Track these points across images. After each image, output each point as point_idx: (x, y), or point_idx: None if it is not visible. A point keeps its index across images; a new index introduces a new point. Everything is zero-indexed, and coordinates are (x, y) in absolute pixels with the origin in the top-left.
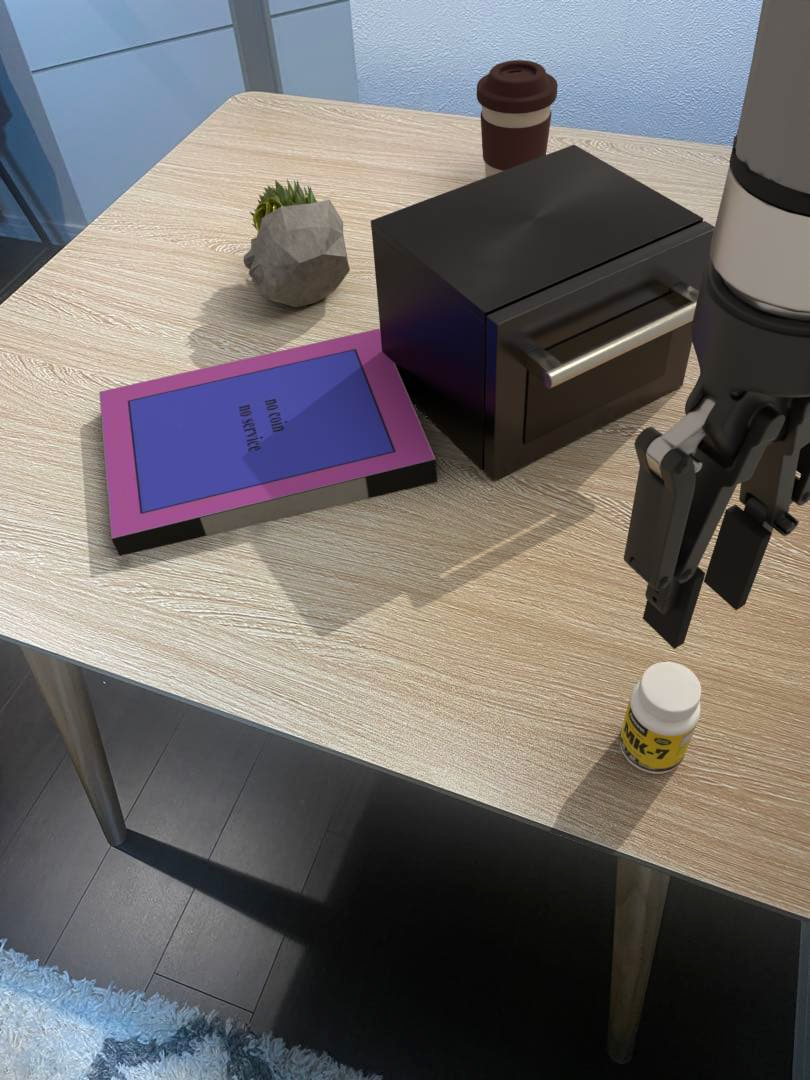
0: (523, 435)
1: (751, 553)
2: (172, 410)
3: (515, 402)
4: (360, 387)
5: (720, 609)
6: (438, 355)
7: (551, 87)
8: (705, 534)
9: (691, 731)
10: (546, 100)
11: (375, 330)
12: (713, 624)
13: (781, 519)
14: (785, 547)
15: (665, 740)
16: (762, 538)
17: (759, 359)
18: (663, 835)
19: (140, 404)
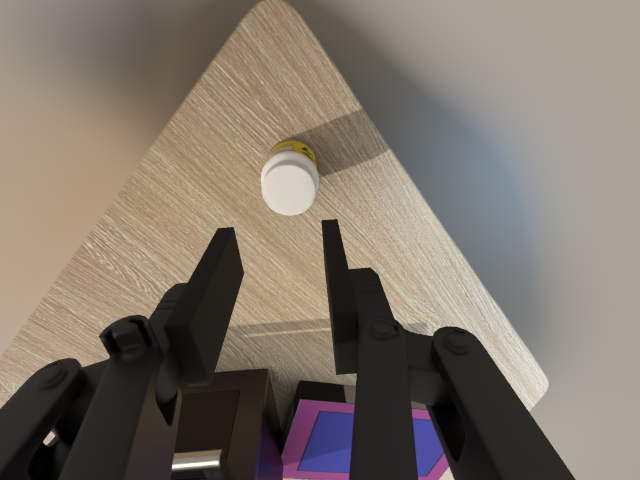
0: (239, 397)
1: (205, 300)
2: None
3: (241, 432)
4: (310, 450)
5: (175, 230)
6: (270, 475)
7: None
8: (389, 441)
9: (283, 150)
10: None
11: None
12: (188, 222)
13: (133, 352)
14: (94, 250)
15: (306, 155)
16: (187, 326)
17: None
18: (330, 98)
19: (422, 473)
